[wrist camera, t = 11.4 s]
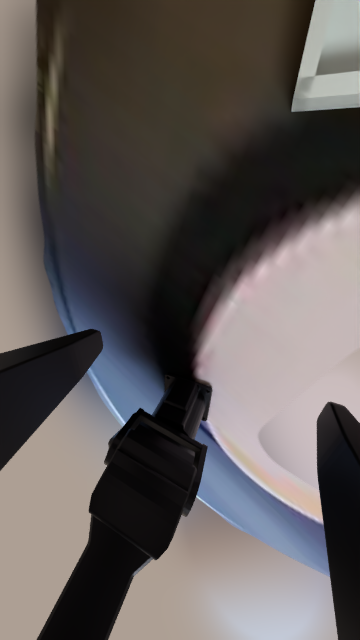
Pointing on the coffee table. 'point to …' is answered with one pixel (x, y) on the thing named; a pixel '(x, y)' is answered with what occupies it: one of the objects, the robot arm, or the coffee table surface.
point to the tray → (330, 58)
